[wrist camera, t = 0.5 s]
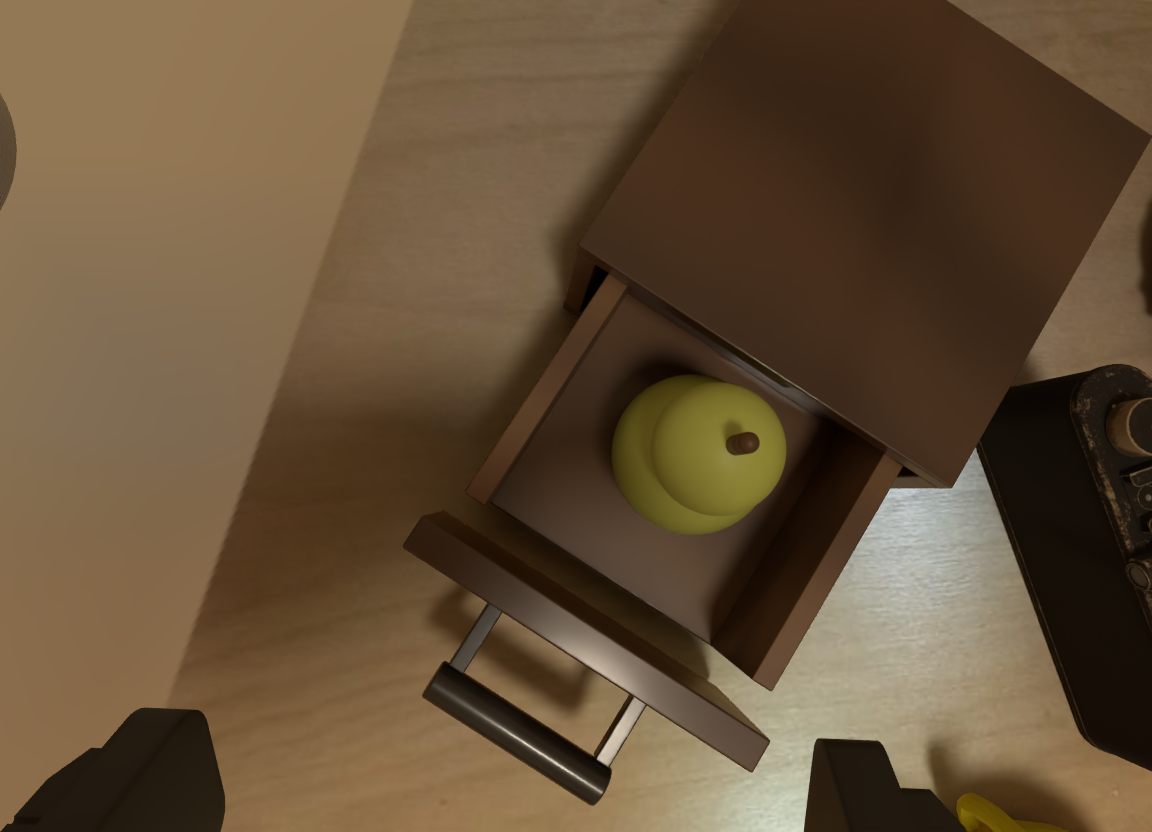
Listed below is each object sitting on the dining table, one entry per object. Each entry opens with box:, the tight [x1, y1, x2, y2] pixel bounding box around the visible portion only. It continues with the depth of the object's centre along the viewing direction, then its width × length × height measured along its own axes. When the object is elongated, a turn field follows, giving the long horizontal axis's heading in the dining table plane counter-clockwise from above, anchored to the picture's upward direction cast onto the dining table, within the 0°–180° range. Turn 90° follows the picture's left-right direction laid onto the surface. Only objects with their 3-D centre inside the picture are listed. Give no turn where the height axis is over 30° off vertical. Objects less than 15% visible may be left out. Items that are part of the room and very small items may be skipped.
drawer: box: [403, 273, 903, 806], centre depth 28 cm, size 18×13×7 cm
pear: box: [611, 374, 786, 535], centre depth 26 cm, size 6×6×11 cm
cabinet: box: [563, 0, 1152, 488], centre depth 30 cm, size 15×15×9 cm
